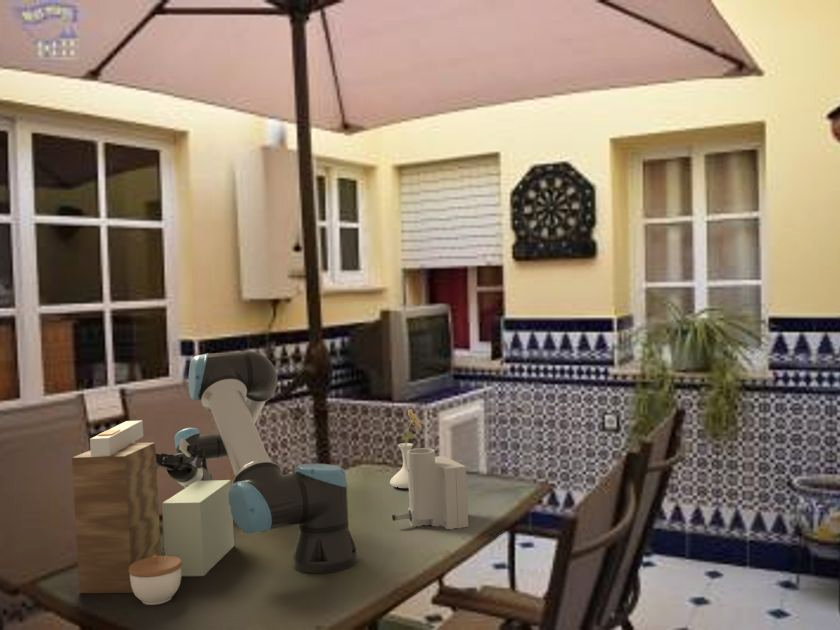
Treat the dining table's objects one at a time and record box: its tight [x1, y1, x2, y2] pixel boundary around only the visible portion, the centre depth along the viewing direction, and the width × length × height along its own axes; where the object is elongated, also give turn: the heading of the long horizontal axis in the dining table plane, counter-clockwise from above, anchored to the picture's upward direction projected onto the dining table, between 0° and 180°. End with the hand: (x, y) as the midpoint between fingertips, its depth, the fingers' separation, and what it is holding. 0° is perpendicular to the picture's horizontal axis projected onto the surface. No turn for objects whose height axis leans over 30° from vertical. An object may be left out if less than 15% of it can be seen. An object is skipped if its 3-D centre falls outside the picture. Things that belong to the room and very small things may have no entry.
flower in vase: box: [389, 408, 423, 489], centre depth 265 cm, size 13×11×25 cm
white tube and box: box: [391, 447, 469, 530], centre depth 221 cm, size 16×19×20 cm
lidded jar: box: [129, 555, 182, 606], centre depth 173 cm, size 11×11×9 cm
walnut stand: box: [71, 442, 162, 594], centre depth 186 cm, size 16×13×30 cm
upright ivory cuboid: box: [161, 479, 235, 577], centre depth 198 cm, size 22×9×17 cm, turn 175°
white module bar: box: [89, 419, 144, 457], centre depth 190 cm, size 25×4×4 cm, turn 3°
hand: (155, 444), depth 208 cm, fingers open, 13 cm apart
